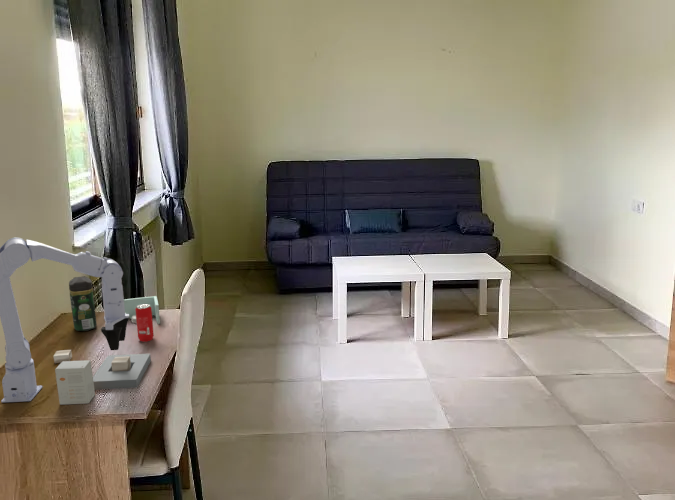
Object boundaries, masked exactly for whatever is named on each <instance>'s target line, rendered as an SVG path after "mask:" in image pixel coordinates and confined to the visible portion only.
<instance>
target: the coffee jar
mask: <svg viewBox="0 0 675 500" xmlns="http://www.w3.org/2000/svg"><path fill="white" fill-rule="evenodd" d="M68 291H69V299H70V300H69V301H70V307H71V314H72V316H71V317H72V324H73V328H74V330H76V331H78V332H79V331H80V332H85V331H86V332H87V331H90V330H92V329H96V328H97V315H96V308H95V307H96V306H95V299H94V290H93V281H92V279H91V278H89V277H87V276H75V277H73V278H72V279H71V280H69V282H68Z"/></svg>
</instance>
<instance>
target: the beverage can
mask: <svg viewBox="0 0 675 500" xmlns="http://www.w3.org/2000/svg"><path fill="white" fill-rule="evenodd" d="M135 310H136V321H137V324H136V330H137V338H138V340H139V341H140V342H141V343H147V342H151V341H153V340H154V336H155V334H154V325H153V323H154V322H153V316H152V310H151V307H150V305H149V304H141V305H138V306H136V309H135Z"/></svg>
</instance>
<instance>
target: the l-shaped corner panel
mask: <svg viewBox="0 0 675 500" xmlns="http://www.w3.org/2000/svg"><path fill="white" fill-rule="evenodd" d="M141 304H149V305H150V307H151V310H152V315H154V316H155V320H156V325H160V324H161V319H160V318H161V317H160V305H159V301H158V297H157V295H154V296H153V295H152V296H143V297H135V298H133V297H132V298H127V299H126V298H125V299H124V308H125V314H129V317H130V319H131V323H132V322H133V324H136V325H137V321H136V310H135V309H136V306H138V305H141Z"/></svg>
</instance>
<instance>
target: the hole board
mask: <svg viewBox="0 0 675 500" xmlns="http://www.w3.org/2000/svg"><path fill="white" fill-rule="evenodd" d="M126 356H130V362H131V370H130V371H112V364H111V362H112V361H113V359H114V358H115V357H126ZM151 357H152V356H151V353H131V354H130V353H129V354H113V355H110V354H109V355H107V357H106V358H105V359H104V361H103V362H102V364H101V365H100V366H99V367H98V369H97V371H96V372H95V374H94V375H93V382H94V390H95V391H96V390H115V389H119V390H120V389H134V388H138V386H139V385H140V383H141V380H142V379H143V377H144V375H145V373H146V371H147V369H148V368H149V366H150V363H151V362H152V359H151ZM148 365H149V366H148Z"/></svg>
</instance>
